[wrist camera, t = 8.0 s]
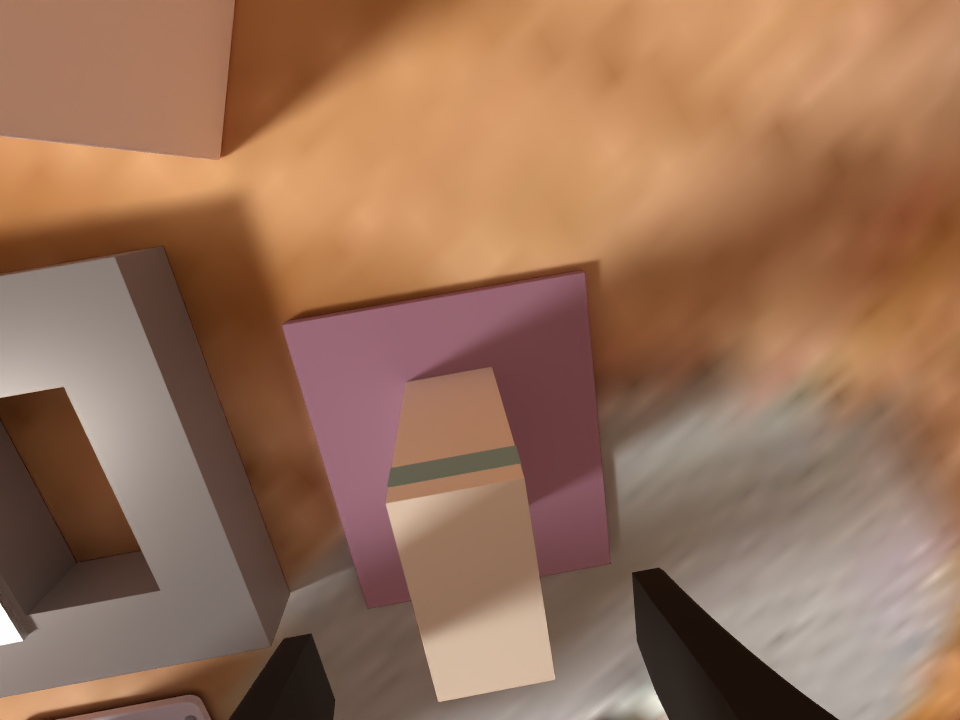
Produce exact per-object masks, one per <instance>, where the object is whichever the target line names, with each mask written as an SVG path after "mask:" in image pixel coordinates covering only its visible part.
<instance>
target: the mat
mask: <svg viewBox="0 0 960 720" xmlns="http://www.w3.org/2000/svg"><path fill="white" fill-rule="evenodd" d="M282 328H283V331H284V335H285V338H286V341H287V345H288V348H289V351H290V354H291V358H292V361H293V364H294V368H295V371H296V374H297V378H298V381H299V384H300V387H301V391H302V394H303V397H304V401H305V404H306V407H307V410H308V414H309V417H310V420H311V424H312V427H313V430H314V434H315V437H316V440H317V443H318V447H319V450H320V453H321V457H322V460H323V463H324V467H325V470H326V473H327V476H328V480H329V483H330V486H331V490H332V493H333V496H334V500H335V503H336V506H337V509H338V513H339V516H340V519H341V523H342V526H343V529H344V533H345V536H346V539H347V542H348V546H349V549H350V552H351V556H352V559H353V562H354V565H355V569H356V572H357V575H358V579H359V582H360V585H361V589H362V592H363V595H364V598H365V602H366V605H367V608H368V609H370V608H375V607H380V606H386V605H391V604H397V603H402V602H407V601H411V598H410V594H409V590H408V586H407V582H406V579H405V575H404V571H403V567H402V564H401V560H400V556H399V552H398V549H397V545H396V541H395V537H394V534H393V530H392V526H391V522H390V519H389V515H388V511H387V507H386V498H387V492H388V489H387V485H388V479H389V473H390V468H391V467H392V461H393V455H394V449H395V443H396V437H397V431H398V425H399V419H400V413H401V407H402V401H403V395H404V389H405V383H406V382H409V381H415V380H420V379H426V378H432V377H437V376H443V375H448V374H454V373H460V372H465V371H471V370H476V369H482V368H487V367H492V369H493V372H494V376H495V379H496V383H497V386H498V389H499V393H500V396H501V400H502V403H503V406H504V410H505V413H506V417H507V420H508V424H509V427H510V430H511V434H512V437H513V441H514V444H515V445H516V447H517V451H518V454H519V458H520V461H521V466H522V471H523V475H524V478H525V485H526V491H527V498H528V504H529V511H530V517H531V524H532V531H533V537H534V544H535V550H536V557H537V563H538V570H539V576H540V577H542V576H547V575H552V574H558V573H563V572H568V571H574V570H579V569H585V568H590V567H595V566H601V565H606V564H611V561H610V550H609V538H608V527H607V516H606V505H605V493H604V482H603V471H602V460H601V448H600V437H599V426H598V415H597V403H596V392H595V381H594V369H593V358H592V347H591V336H590V324H589V313H588V302H587V291H586V279H585V272H583V271H581V270H579V271H573V272H567V273H561V274H556V275H550V276H544V277H538V278H533V279H527V280H521V281H515V282H510V283H504V284H498V285H492V286H487V287H481V288H475V289H469V290H464V291H458V292H452V293H446V294H441V295H435V296H429V297H423V298H417V299H412V300H406V301H400V302H394V303H389V304H383V305H377V306H371V307H366V308H360V309H354V310H348V311H343V312H337V313H331V314H325V315H320V316H314V317H308V318H302V319H297V320H291V321H286V322H285V323H284V324H283V325H282Z"/></svg>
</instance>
